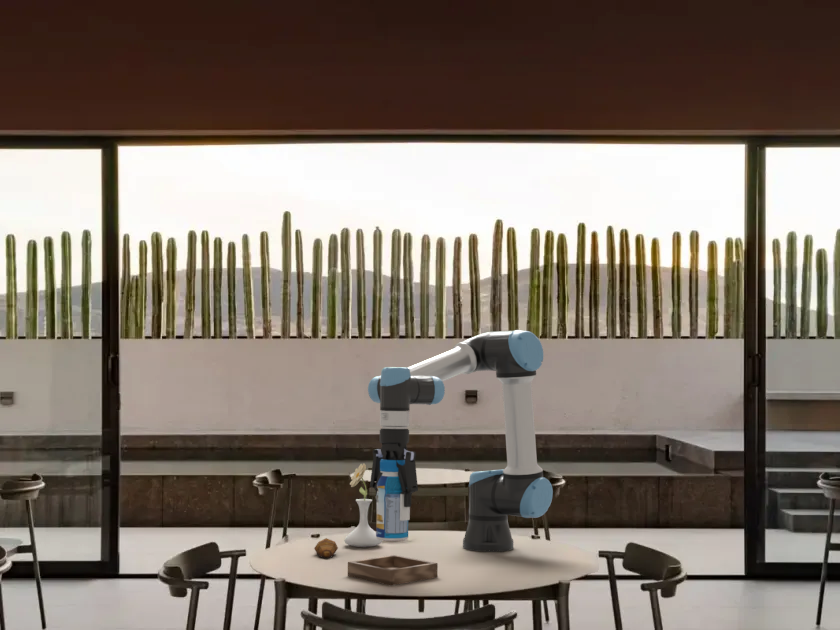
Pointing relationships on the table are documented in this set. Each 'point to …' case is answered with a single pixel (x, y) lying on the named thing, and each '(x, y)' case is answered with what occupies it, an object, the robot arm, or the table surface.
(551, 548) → the table surface
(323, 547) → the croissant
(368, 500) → the flower in vase
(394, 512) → the beverage bottle
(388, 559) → the walnut tray
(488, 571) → the table surface
